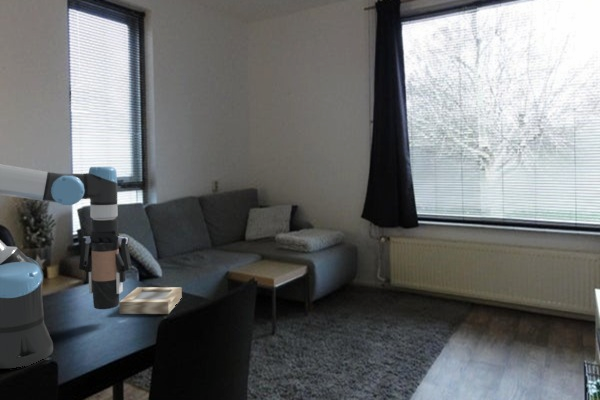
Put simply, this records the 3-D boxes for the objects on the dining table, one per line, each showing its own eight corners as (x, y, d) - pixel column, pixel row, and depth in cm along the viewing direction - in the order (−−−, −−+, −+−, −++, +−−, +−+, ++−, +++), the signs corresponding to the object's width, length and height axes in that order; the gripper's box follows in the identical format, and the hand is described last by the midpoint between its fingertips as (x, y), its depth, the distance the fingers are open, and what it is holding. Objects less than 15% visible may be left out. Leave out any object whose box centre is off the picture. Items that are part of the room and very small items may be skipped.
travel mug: (109, 310, 131) (108, 244, 129) (87, 308, 132) (85, 242, 131) (125, 302, 138) (123, 239, 136) (103, 300, 140) (101, 238, 138)
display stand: (119, 313, 144) (119, 301, 144) (137, 297, 160) (137, 287, 160) (168, 313, 144) (168, 302, 144) (181, 298, 160) (181, 287, 160)
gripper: (142, 217, 137) (144, 289, 139) (76, 216, 137) (78, 288, 139) (133, 220, 129) (135, 296, 131) (63, 219, 129) (66, 295, 131)
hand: (106, 292), depth 135 cm, fingers closed on travel mug, 8 cm apart
